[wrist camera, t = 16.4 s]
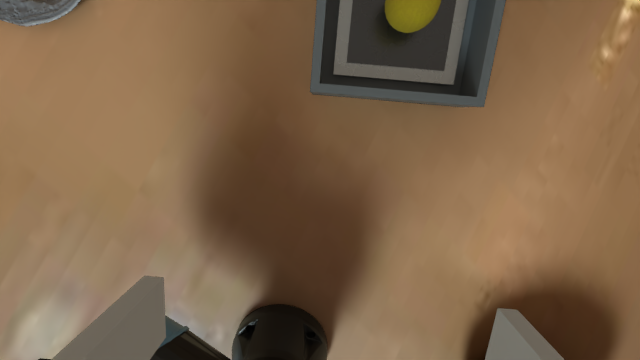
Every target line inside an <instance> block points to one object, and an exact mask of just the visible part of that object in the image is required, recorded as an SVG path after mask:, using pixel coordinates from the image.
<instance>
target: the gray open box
mask: <svg viewBox="0 0 640 360" xmlns="http://www.w3.org/2000/svg"><path fill="white" fill-rule="evenodd" d="M505 1H506V0H469V2H468V7H467V13H466V18H465V24H464V29H463V35H462V41H461V46H460V52H459V57H458V63H457V69H456V74H455V80H454V85H441V84H429V83H418V82H406V81H395V80H383V79H372V78H360V77H349V76H337V75H333V72H334V61H335V50H336V39H337V28H338V17H339V6H340V0H317V6H316V19H315V33H314V46H313V59H312V73H311V86H310V92H311V93H312V94H316V95H327V96H338V97H350V98H361V99H373V100H384V101H396V102H407V103H419V104H430V105H442V106H453V107H484V104H485V99H486V94H487V89H488V84H489V80H490V75H491V70H492V65H493V60H494V55H495V50H496V45H497V41H498V36H499V31H500V26H501V21H502V16H503V11H504V6H505Z"/></svg>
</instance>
